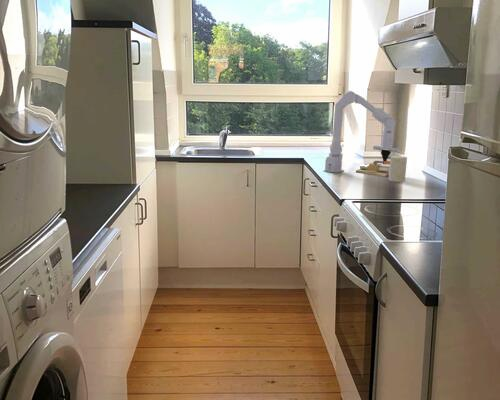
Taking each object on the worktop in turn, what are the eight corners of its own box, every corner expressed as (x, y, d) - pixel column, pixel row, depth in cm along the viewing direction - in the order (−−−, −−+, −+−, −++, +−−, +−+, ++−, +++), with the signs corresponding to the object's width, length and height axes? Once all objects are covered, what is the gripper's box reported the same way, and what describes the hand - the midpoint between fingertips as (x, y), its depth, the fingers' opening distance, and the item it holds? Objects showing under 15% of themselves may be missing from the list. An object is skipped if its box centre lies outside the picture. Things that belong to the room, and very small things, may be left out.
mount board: (384, 176, 297) (385, 174, 297) (355, 172, 307) (355, 170, 307) (392, 174, 305) (392, 171, 305) (363, 170, 315) (364, 168, 314)
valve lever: (372, 163, 304) (372, 160, 304) (373, 163, 306) (373, 159, 306) (395, 165, 300) (395, 161, 300) (395, 165, 302) (396, 161, 302)
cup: (393, 182, 281) (395, 158, 278) (385, 179, 289) (387, 156, 286) (408, 181, 283) (410, 158, 281) (399, 178, 291) (401, 155, 288)
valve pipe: (386, 174, 299) (387, 166, 299) (359, 170, 309) (359, 162, 308) (389, 173, 303) (390, 165, 302) (362, 169, 312) (362, 162, 311)
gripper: (403, 140, 301) (400, 165, 304) (378, 137, 309) (375, 161, 312) (398, 141, 295) (395, 166, 298) (372, 138, 304) (370, 162, 307)
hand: (384, 164), depth 305 cm, fingers closed, pressing on valve lever
